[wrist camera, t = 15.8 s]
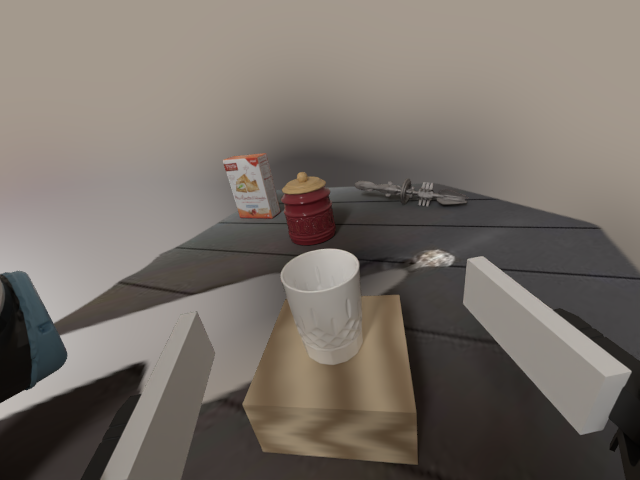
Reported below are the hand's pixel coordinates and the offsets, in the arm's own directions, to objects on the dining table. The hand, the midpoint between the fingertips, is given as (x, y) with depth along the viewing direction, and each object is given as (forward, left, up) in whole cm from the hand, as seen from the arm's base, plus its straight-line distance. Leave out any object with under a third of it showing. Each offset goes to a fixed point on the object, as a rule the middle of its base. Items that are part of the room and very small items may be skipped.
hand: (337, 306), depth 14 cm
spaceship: (+11, +77, -24) cm, 81 cm away
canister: (-16, +59, -24) cm, 65 cm away
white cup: (-4, +13, -16) cm, 21 cm away
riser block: (-4, +13, -24) cm, 27 cm away
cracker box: (-39, +79, -24) cm, 91 cm away
